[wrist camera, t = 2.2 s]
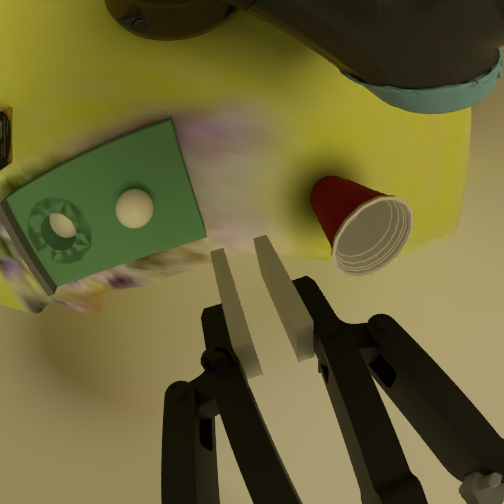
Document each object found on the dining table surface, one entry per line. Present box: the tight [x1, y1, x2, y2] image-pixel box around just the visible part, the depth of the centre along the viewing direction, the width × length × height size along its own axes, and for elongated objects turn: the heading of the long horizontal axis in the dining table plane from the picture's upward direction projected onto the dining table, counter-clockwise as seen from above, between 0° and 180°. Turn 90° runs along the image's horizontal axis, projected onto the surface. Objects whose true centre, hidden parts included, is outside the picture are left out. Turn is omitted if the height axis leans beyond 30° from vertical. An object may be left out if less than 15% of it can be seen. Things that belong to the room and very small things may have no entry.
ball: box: [115, 189, 153, 228], centre depth 26 cm, size 4×4×4 cm
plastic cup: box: [310, 176, 414, 279], centre depth 32 cm, size 11×11×12 cm
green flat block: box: [0, 118, 207, 296], centre depth 28 cm, size 14×23×4 cm, turn 101°
